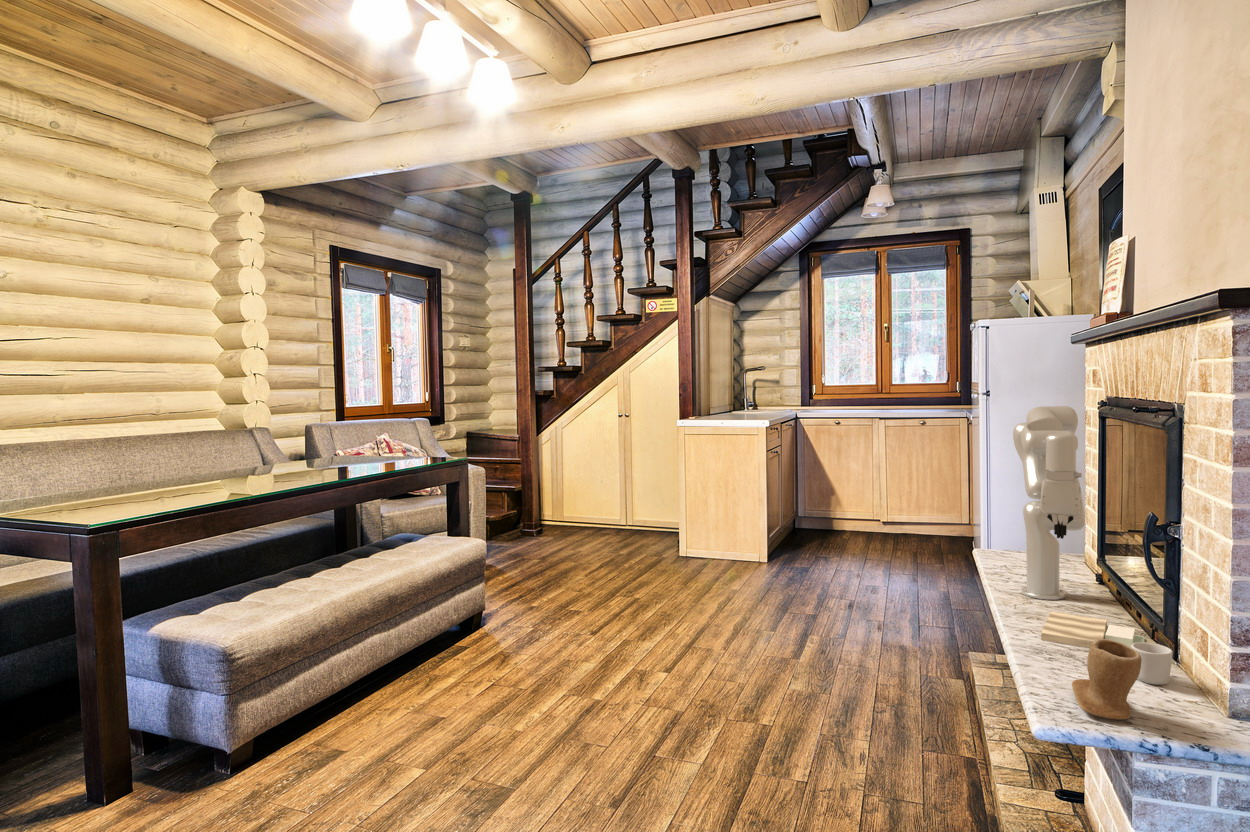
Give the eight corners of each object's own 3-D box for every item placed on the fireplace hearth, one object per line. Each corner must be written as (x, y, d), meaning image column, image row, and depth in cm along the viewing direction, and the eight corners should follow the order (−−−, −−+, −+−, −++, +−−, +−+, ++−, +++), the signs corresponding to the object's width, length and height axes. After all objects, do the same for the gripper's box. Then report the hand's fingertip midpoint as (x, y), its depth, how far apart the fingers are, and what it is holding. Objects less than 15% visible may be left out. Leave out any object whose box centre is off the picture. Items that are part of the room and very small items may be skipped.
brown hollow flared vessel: (1146, 729, 147) (1146, 657, 146) (1078, 718, 152) (1078, 649, 151) (1133, 699, 160) (1133, 634, 159) (1070, 690, 165) (1070, 627, 165)
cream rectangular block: (1108, 631, 201) (1109, 624, 201) (1135, 635, 197) (1135, 628, 197) (1105, 642, 193) (1105, 634, 193) (1132, 646, 189) (1132, 639, 189)
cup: (1137, 668, 177) (1137, 636, 177) (1177, 676, 171) (1177, 644, 171) (1127, 681, 169) (1127, 648, 169) (1169, 691, 164) (1169, 656, 163)
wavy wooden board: (1051, 618, 215) (1051, 611, 215) (1106, 626, 206) (1106, 619, 206) (1041, 639, 197) (1041, 632, 197) (1101, 650, 189) (1101, 642, 189)
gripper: (1091, 475, 207) (1091, 537, 208) (1032, 472, 215) (1032, 532, 217) (1090, 479, 201) (1090, 543, 202) (1029, 476, 209) (1029, 537, 211)
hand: (1060, 537), depth 209 cm, fingers closed
